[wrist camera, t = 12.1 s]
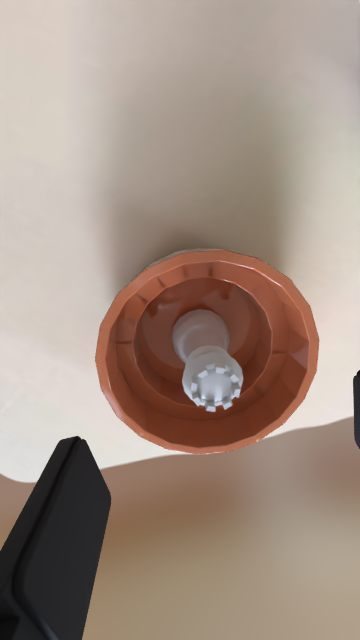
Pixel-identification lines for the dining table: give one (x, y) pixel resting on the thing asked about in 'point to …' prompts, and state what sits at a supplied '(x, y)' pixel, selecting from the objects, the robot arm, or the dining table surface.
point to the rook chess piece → (206, 359)
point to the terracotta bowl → (245, 347)
